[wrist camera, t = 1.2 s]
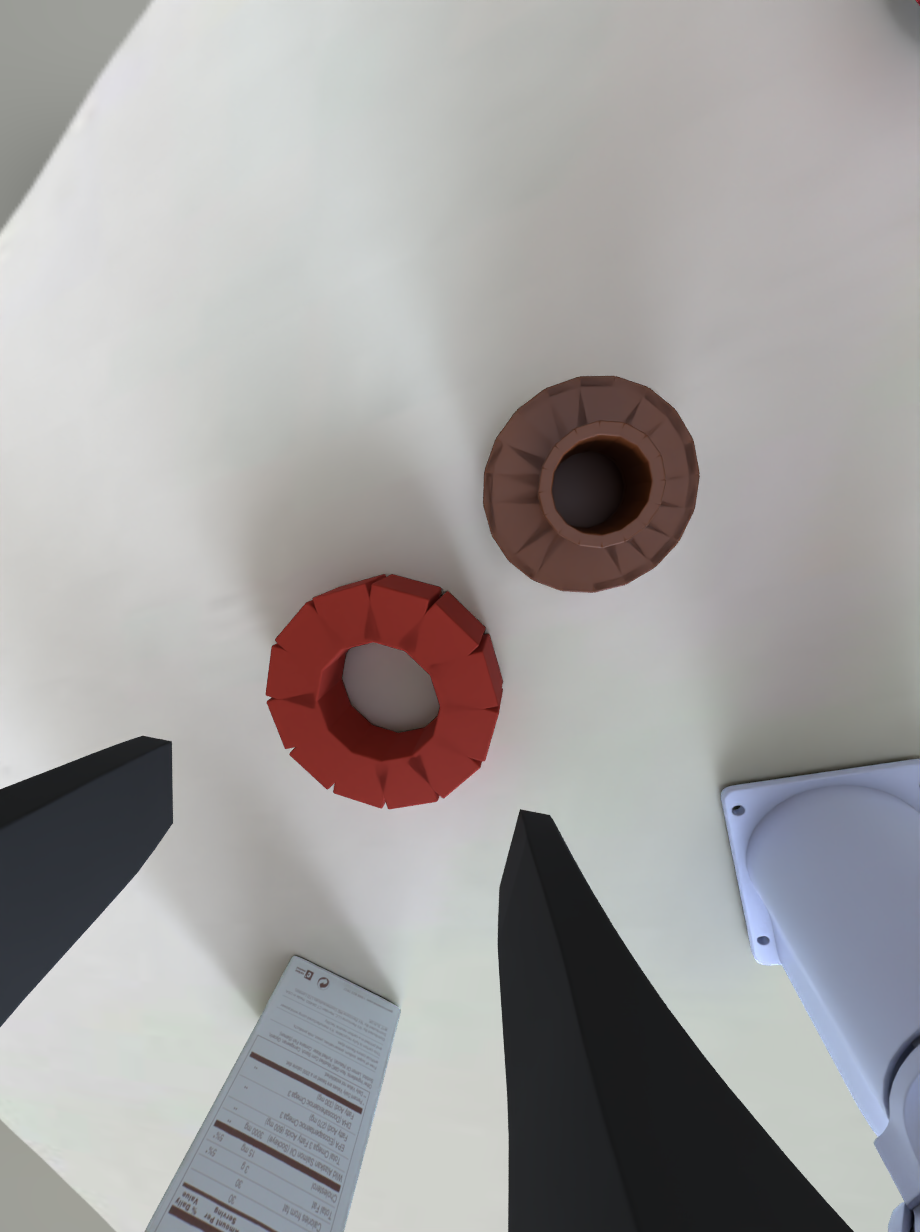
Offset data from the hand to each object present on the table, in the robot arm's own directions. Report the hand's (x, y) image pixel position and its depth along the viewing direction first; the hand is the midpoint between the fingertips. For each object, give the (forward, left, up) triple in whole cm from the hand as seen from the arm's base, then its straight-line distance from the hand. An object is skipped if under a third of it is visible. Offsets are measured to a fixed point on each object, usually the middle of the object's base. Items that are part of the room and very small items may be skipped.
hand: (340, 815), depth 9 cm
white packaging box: (-21, +14, -12) cm, 28 cm away
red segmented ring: (-1, +3, -12) cm, 12 cm away
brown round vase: (+5, -7, -12) cm, 15 cm away
